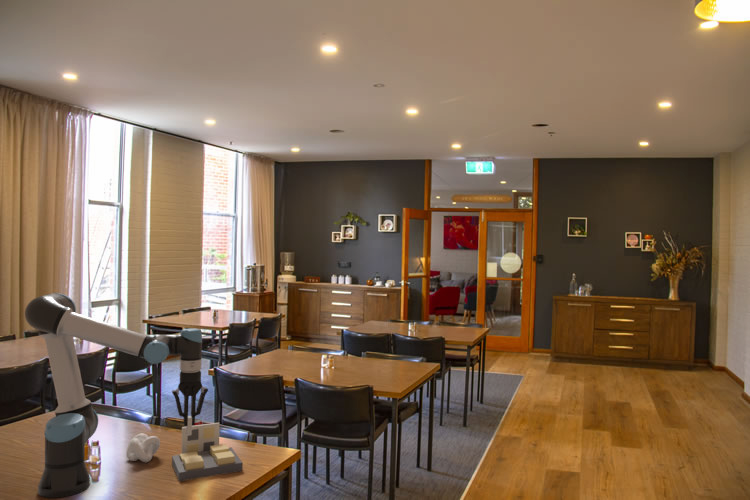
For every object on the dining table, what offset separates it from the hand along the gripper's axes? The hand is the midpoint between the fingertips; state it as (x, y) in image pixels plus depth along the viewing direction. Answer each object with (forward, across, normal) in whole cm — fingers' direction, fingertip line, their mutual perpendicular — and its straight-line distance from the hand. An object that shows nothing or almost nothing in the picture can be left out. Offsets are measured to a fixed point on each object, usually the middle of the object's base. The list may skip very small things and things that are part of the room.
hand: (188, 434), depth 210 cm
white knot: (+12, -15, +14) cm, 24 cm away
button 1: (+11, 0, 0) cm, 11 cm away
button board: (+12, +6, -2) cm, 13 cm away
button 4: (+9, +11, -9) cm, 17 cm away
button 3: (+9, +11, 0) cm, 15 cm away
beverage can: (+12, +5, +15) cm, 20 cm away
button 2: (+9, 0, -9) cm, 13 cm away
